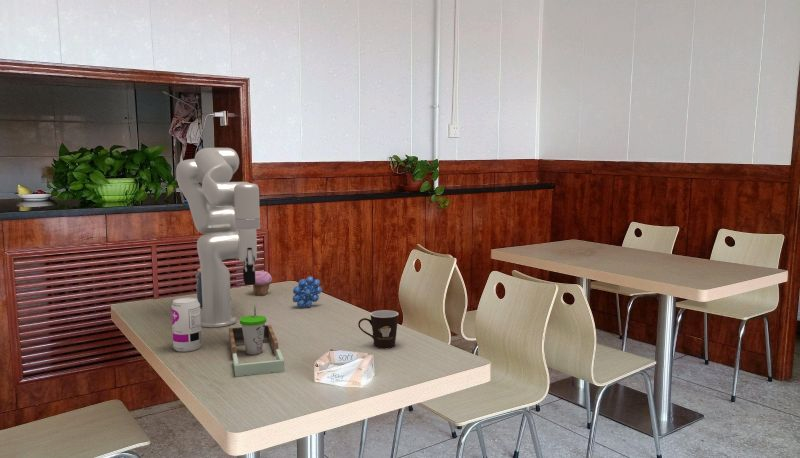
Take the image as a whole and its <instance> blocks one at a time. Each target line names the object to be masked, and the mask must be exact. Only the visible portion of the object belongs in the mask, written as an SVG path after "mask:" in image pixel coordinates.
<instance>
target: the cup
mask: <svg viewBox="0 0 800 458" xmlns="http://www.w3.org/2000/svg"><path fill="white" fill-rule="evenodd" d="M257 302H258V300H257V299H256V300H254V304H253V315H248V316H243V317H241V318H239V324H240V325H241V327H242V330H243V336H244V342H245V345H244V346H245V347H244V348H245V353H246V355H248V356H257V355H260V354H261V353H262V352H263V344H264V343H263V337H264V327H265V325H266V323H267V316H264V315H257V304H258V303H257Z"/></svg>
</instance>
